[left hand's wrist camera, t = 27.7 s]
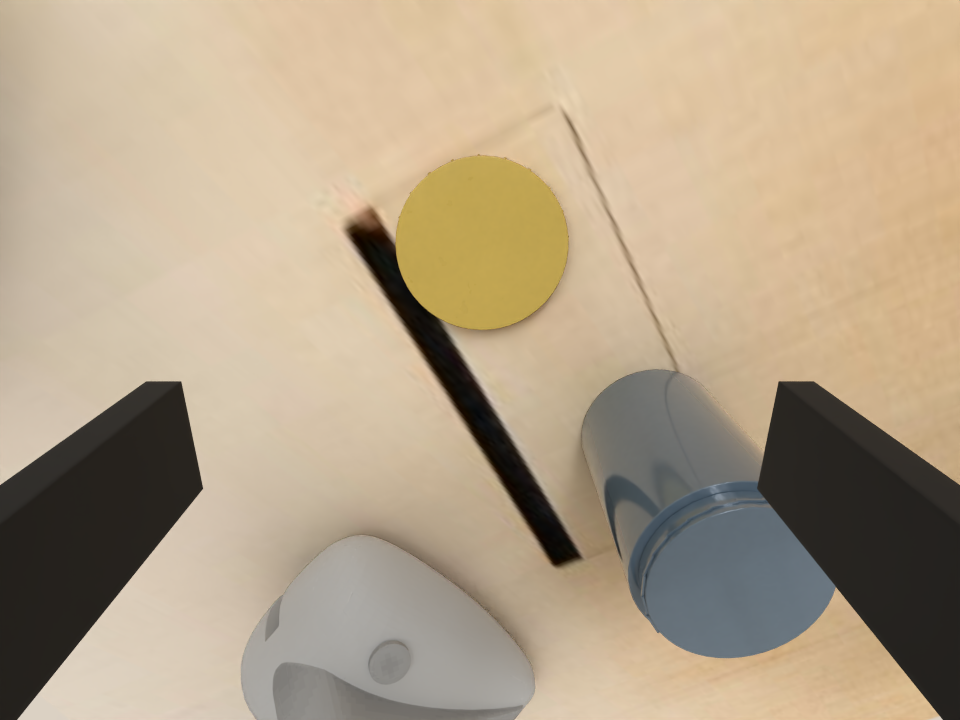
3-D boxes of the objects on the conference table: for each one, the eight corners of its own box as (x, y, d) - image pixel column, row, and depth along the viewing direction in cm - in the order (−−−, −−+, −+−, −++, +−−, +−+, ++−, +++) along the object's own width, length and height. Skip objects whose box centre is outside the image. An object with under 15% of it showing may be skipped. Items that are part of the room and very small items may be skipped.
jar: (684, 343, 40) (804, 461, 25) (740, 452, 43) (877, 614, 28) (556, 413, 42) (598, 560, 27) (619, 512, 45) (688, 693, 30)
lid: (398, 320, 39) (395, 328, 38) (396, 150, 36) (392, 151, 34) (557, 326, 40) (560, 333, 38) (572, 157, 36) (577, 158, 34)
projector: (307, 726, 54) (248, 926, 40) (230, 529, 45) (123, 694, 32) (539, 699, 52) (560, 895, 39) (502, 490, 44) (512, 645, 31)
